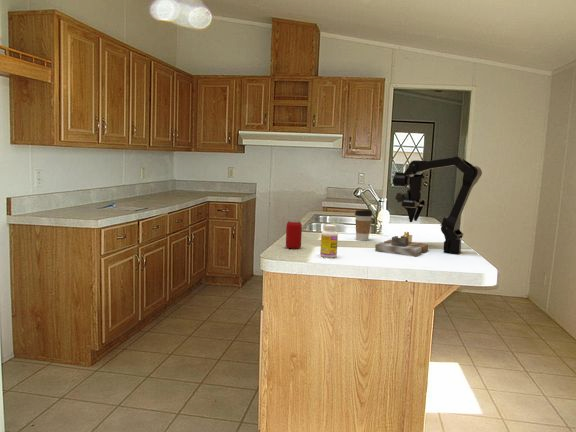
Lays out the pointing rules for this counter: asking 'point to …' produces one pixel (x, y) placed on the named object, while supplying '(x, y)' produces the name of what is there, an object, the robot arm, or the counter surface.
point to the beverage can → (293, 234)
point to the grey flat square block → (401, 247)
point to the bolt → (406, 234)
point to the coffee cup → (363, 224)
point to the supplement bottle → (329, 241)
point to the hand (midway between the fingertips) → (413, 221)
